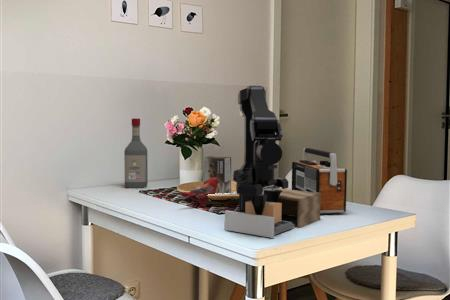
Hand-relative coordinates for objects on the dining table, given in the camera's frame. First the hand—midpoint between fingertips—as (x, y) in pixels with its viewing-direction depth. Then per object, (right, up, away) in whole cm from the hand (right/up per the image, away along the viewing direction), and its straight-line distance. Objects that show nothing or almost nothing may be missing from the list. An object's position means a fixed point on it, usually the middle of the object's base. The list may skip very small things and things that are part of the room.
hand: (263, 216), depth 136 cm
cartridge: (0, -1, 0) cm, 1 cm away
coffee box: (-14, 0, +47) cm, 49 cm away
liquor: (-50, +2, +78) cm, 92 cm away
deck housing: (+8, -3, +12) cm, 15 cm away
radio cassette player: (+21, -2, +34) cm, 40 cm away
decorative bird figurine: (-20, -1, +32) cm, 38 cm away
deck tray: (-1, -3, -1) cm, 3 cm away
